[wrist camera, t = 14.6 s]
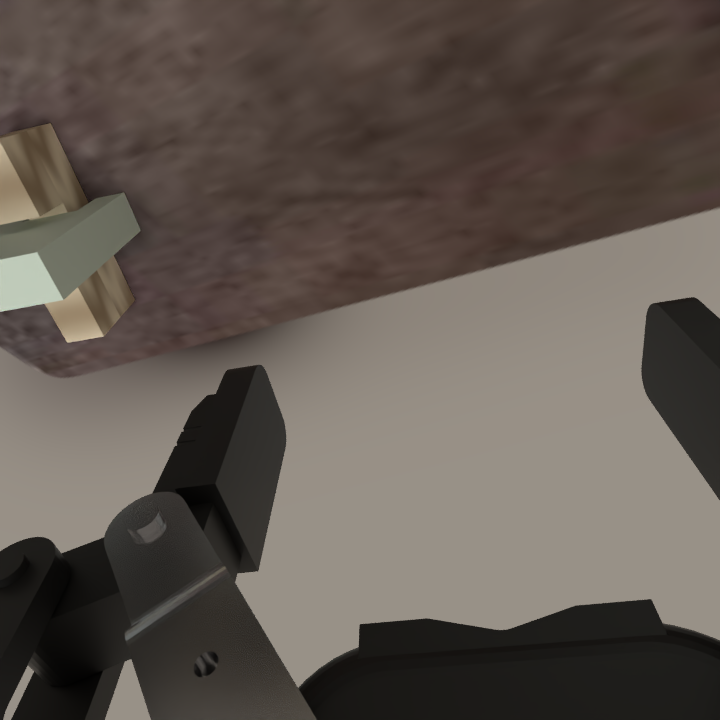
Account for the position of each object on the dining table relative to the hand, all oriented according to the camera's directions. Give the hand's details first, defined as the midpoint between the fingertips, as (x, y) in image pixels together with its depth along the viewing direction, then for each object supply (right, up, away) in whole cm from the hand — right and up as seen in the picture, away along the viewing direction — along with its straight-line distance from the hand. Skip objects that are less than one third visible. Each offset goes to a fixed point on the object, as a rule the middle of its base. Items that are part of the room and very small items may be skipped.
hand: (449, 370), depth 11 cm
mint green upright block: (-24, +11, +30) cm, 40 cm away
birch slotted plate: (-24, +11, +30) cm, 40 cm away
